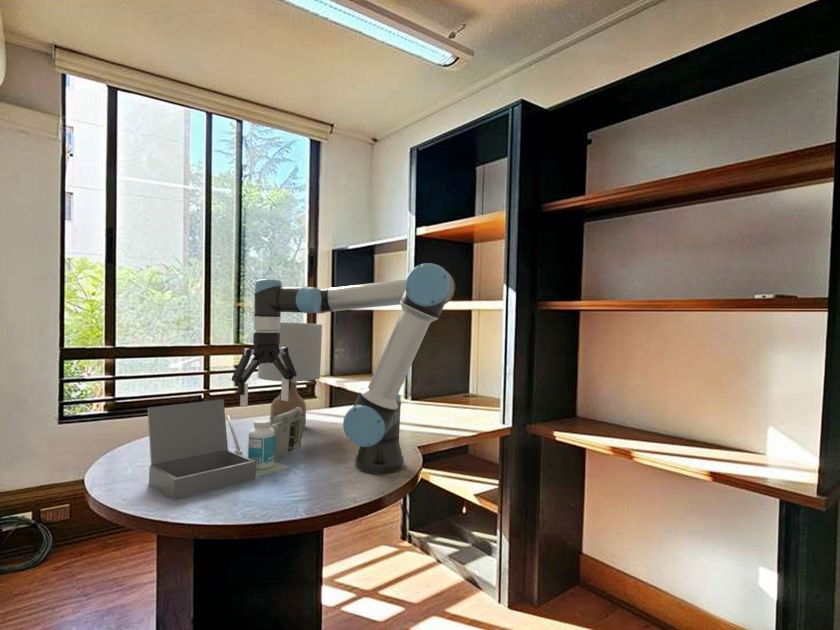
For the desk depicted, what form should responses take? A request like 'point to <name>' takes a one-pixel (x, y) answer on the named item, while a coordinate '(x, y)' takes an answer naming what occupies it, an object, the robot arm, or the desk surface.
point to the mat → (271, 469)
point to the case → (194, 450)
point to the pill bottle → (262, 444)
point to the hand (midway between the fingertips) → (264, 403)
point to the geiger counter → (287, 432)
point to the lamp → (295, 364)
